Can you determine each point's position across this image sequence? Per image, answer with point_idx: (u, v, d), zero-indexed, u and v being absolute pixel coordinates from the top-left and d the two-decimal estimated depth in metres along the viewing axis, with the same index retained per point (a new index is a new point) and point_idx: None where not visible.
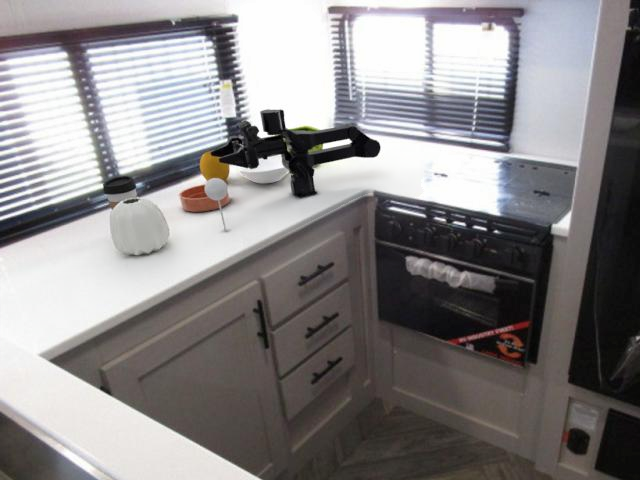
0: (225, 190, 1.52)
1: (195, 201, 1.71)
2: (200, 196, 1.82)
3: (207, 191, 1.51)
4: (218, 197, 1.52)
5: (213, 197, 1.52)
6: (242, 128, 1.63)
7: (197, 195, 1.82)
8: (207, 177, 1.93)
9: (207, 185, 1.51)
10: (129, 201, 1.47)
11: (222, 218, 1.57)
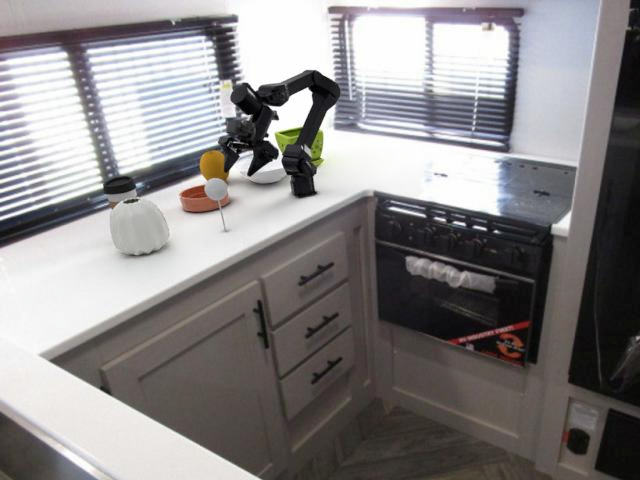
0: (225, 190, 1.52)
1: (195, 201, 1.71)
2: (200, 196, 1.82)
3: (207, 191, 1.51)
4: (218, 197, 1.52)
5: (213, 197, 1.52)
6: (238, 131, 1.53)
7: (197, 195, 1.82)
8: (207, 177, 1.93)
9: (207, 185, 1.51)
10: (129, 201, 1.47)
11: (222, 218, 1.57)
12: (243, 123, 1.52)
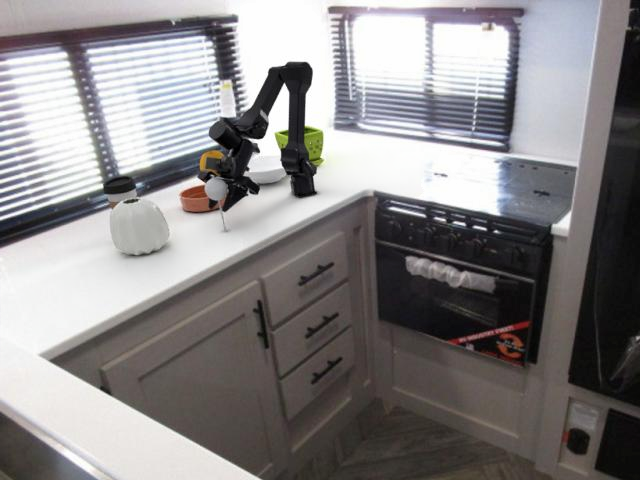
0: (225, 190, 1.52)
1: (195, 201, 1.71)
2: (200, 196, 1.82)
3: (207, 191, 1.51)
4: (218, 197, 1.52)
5: (213, 197, 1.52)
6: (217, 168, 1.49)
7: (197, 195, 1.82)
8: None
9: (207, 185, 1.51)
10: (129, 201, 1.47)
11: (222, 218, 1.57)
12: (222, 159, 1.49)
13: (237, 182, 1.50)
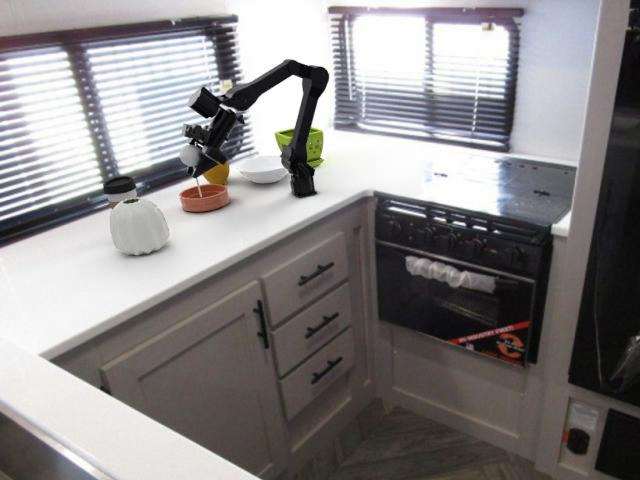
0: (196, 157, 1.58)
1: (195, 201, 1.71)
2: None
3: (179, 156, 1.58)
4: (189, 163, 1.58)
5: (185, 163, 1.58)
6: (187, 135, 1.55)
7: (197, 195, 1.82)
8: (207, 177, 1.93)
9: (180, 151, 1.58)
10: (129, 201, 1.47)
11: (197, 184, 1.63)
12: (192, 127, 1.54)
13: (202, 151, 1.54)
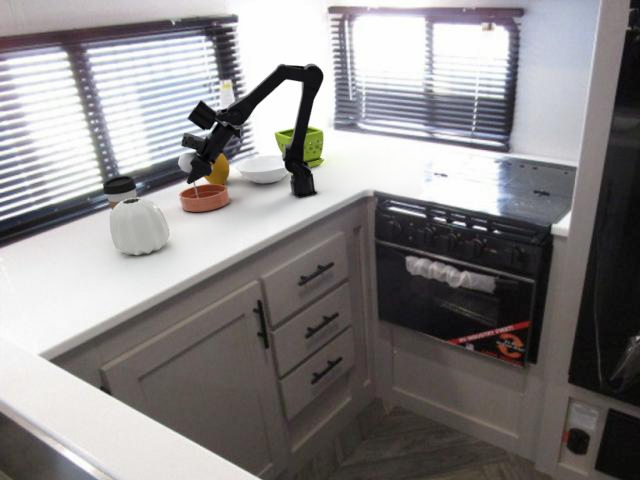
0: (190, 165, 1.69)
1: (195, 201, 1.71)
2: (200, 196, 1.82)
3: None
4: (184, 170, 1.71)
5: None
6: (182, 144, 1.67)
7: None
8: (207, 177, 1.93)
9: None
10: (129, 201, 1.47)
11: None
12: (186, 138, 1.65)
13: None
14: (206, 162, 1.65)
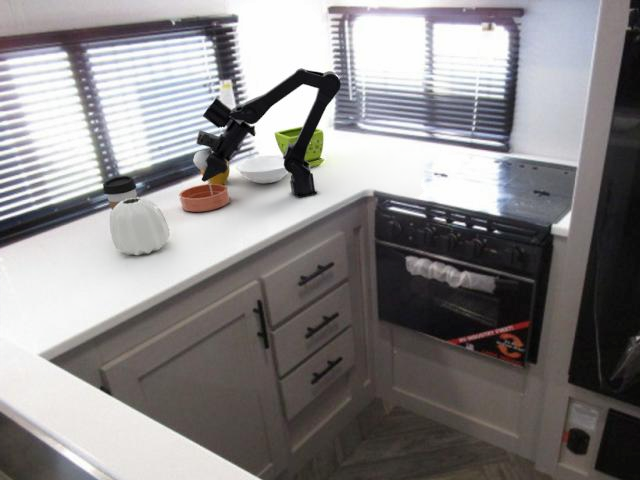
0: (205, 163, 1.71)
1: (195, 201, 1.71)
2: (200, 196, 1.82)
3: None
4: (199, 167, 1.72)
5: (196, 166, 1.73)
6: (198, 142, 1.69)
7: (197, 195, 1.82)
8: None
9: None
10: (129, 201, 1.47)
11: None
12: (201, 135, 1.67)
13: (206, 158, 1.67)
14: (221, 159, 1.67)
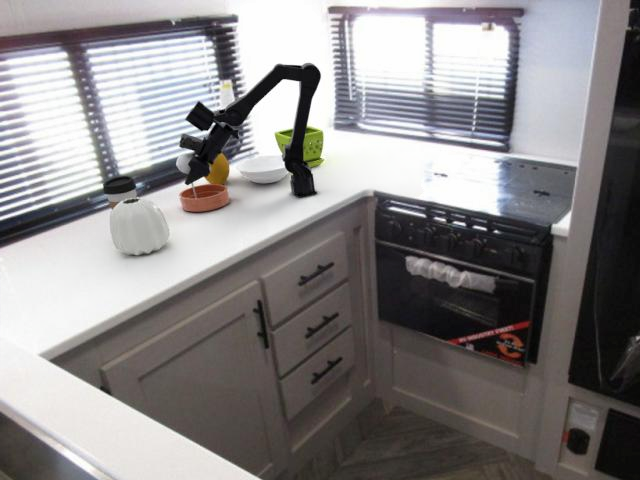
0: (188, 166, 1.69)
1: (195, 201, 1.71)
2: (200, 196, 1.82)
3: None
4: (182, 171, 1.70)
5: (180, 170, 1.71)
6: (180, 145, 1.67)
7: (197, 195, 1.82)
8: (207, 177, 1.93)
9: None
10: (129, 201, 1.47)
11: (193, 190, 1.75)
12: (184, 138, 1.65)
13: (189, 161, 1.65)
14: (204, 163, 1.65)
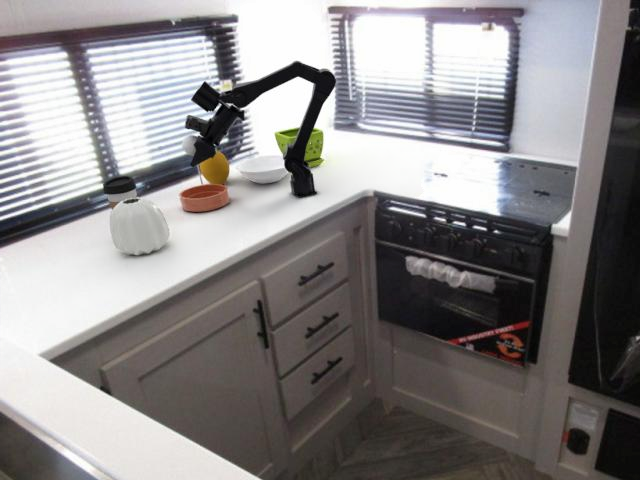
0: (193, 148, 1.68)
1: (195, 201, 1.71)
2: (200, 196, 1.82)
3: None
4: (188, 152, 1.69)
5: (185, 151, 1.70)
6: (186, 126, 1.65)
7: (197, 195, 1.82)
8: (207, 177, 1.93)
9: (183, 140, 1.69)
10: (129, 201, 1.47)
11: None
12: (190, 119, 1.64)
13: None
14: (210, 144, 1.64)
